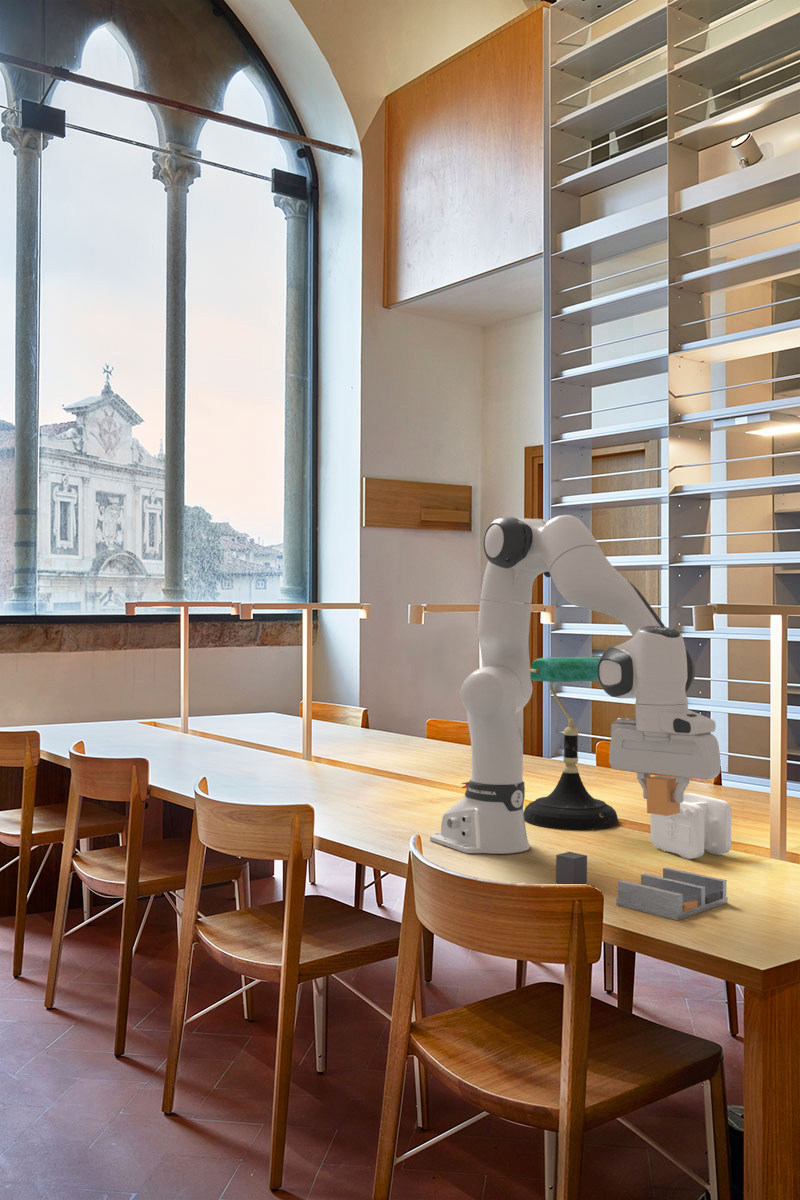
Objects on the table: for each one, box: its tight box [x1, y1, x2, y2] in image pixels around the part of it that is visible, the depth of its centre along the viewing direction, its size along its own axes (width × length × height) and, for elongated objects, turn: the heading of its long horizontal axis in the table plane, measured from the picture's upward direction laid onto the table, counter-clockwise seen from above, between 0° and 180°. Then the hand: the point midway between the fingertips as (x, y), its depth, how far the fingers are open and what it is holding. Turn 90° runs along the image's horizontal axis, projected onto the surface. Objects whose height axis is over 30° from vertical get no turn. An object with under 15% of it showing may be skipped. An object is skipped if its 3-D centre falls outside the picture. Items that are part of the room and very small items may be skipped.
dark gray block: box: [555, 851, 588, 885], centre depth 187 cm, size 4×4×6 cm
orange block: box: [646, 775, 680, 816], centre depth 176 cm, size 4×4×6 cm
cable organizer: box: [649, 792, 732, 860], centre depth 217 cm, size 15×11×12 cm
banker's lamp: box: [523, 656, 619, 831], centre depth 250 cm, size 26×23×40 cm
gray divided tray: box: [615, 866, 729, 921], centre depth 178 cm, size 12×16×4 cm
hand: (663, 800), depth 176 cm, fingers closed on orange block, 4 cm apart
